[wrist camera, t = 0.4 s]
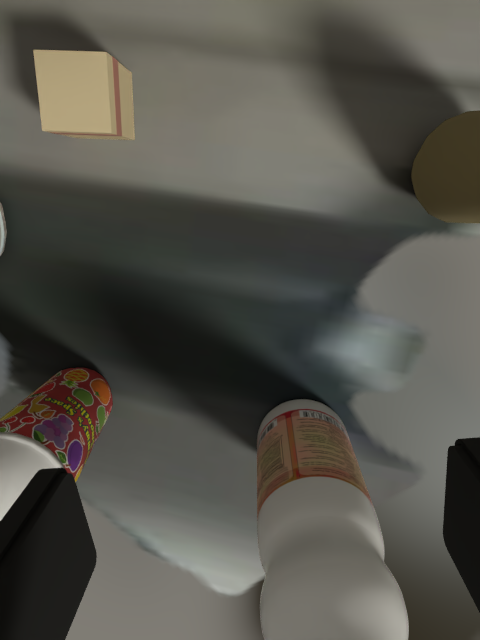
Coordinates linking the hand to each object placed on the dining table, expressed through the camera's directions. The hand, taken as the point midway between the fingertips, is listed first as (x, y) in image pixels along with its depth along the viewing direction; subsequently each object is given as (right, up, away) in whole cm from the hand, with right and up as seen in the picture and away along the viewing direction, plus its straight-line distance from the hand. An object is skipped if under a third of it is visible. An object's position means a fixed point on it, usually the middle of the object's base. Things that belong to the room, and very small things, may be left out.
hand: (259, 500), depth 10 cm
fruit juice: (+6, -8, +34) cm, 35 cm away
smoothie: (-17, -3, +33) cm, 37 cm away
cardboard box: (-12, +22, +24) cm, 35 cm away
